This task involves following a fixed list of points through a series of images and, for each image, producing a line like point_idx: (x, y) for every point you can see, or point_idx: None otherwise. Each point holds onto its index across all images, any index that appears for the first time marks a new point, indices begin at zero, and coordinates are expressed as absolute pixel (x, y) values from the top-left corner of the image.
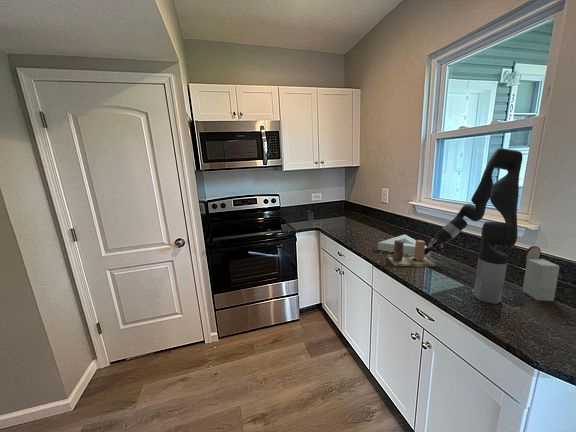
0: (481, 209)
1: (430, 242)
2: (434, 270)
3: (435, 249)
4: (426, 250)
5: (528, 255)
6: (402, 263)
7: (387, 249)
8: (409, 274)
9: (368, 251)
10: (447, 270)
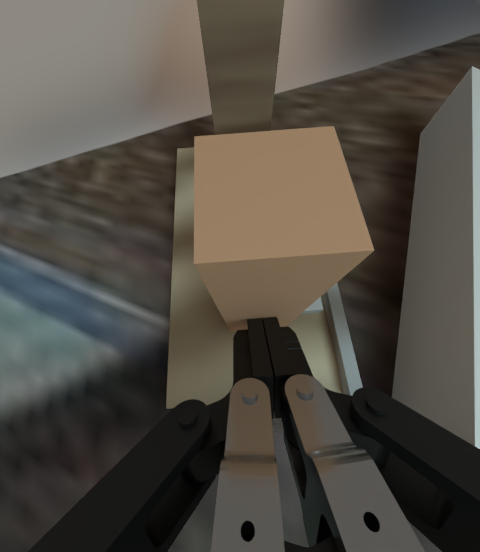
0: None
1: (368, 504)
2: (105, 366)
3: (171, 496)
4: (250, 355)
5: None
6: (186, 186)
7: (429, 158)
8: (80, 201)
9: (391, 96)
10: (87, 485)
